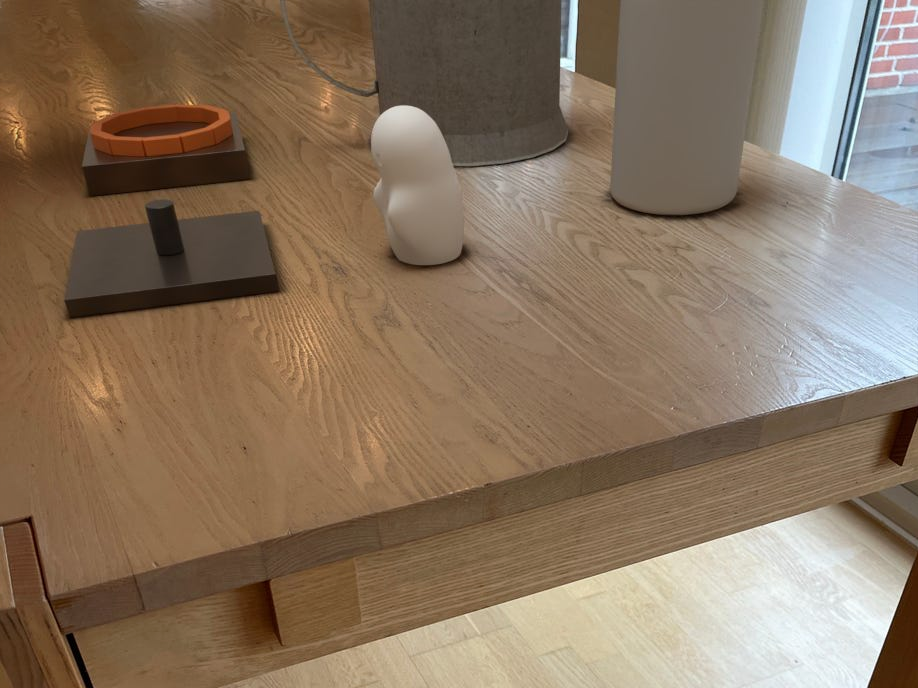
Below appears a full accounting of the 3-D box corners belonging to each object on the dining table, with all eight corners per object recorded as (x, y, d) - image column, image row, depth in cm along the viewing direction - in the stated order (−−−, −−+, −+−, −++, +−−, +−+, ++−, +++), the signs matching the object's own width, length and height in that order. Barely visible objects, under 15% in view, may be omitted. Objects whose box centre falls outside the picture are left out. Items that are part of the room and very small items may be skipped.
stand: (90, 196, 101) (81, 166, 99) (97, 153, 114) (89, 126, 112) (250, 179, 104) (245, 149, 102) (240, 139, 117) (235, 112, 115)
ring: (91, 162, 100) (86, 146, 99) (97, 127, 111) (93, 111, 110) (236, 147, 103) (233, 131, 102) (228, 114, 114) (225, 99, 113)
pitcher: (589, 155, 107) (601, -130, 90) (306, 182, 103) (263, -110, 86) (543, 104, 124) (545, -145, 107) (298, 125, 120) (261, -129, 103)
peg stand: (69, 317, 77) (47, 249, 74) (81, 247, 90) (62, 185, 86) (278, 291, 80) (266, 224, 77) (262, 226, 93) (251, 165, 89)
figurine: (373, 246, 88) (358, 100, 80) (452, 235, 89) (445, 90, 81) (392, 273, 82) (378, 120, 74) (475, 261, 84) (470, 109, 76)
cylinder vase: (706, 173, 101) (742, -129, 84) (756, 210, 92) (808, -121, 75) (593, 185, 99) (607, -122, 82) (633, 223, 90) (658, -113, 73)
